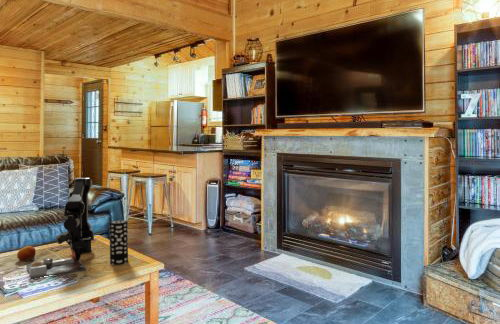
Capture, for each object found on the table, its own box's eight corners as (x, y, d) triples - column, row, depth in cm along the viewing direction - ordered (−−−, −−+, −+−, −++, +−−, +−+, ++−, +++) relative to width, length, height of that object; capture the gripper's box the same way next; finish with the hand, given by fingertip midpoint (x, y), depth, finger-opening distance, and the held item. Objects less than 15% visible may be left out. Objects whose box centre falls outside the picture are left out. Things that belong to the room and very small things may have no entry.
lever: (34, 269, 177) (34, 257, 176) (32, 267, 180) (32, 255, 179) (79, 261, 189) (79, 249, 189) (77, 259, 192) (77, 248, 192)
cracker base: (76, 258, 197) (76, 250, 197) (86, 270, 179) (85, 260, 179) (26, 266, 185) (26, 257, 185) (31, 279, 167) (30, 269, 167)
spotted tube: (131, 261, 193) (131, 221, 192) (119, 266, 186) (118, 224, 185) (118, 259, 197) (118, 219, 196) (106, 263, 189) (105, 222, 188)
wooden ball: (43, 269, 177) (42, 258, 177) (44, 272, 173) (44, 261, 172) (30, 271, 174) (30, 260, 174) (31, 275, 170) (31, 263, 170)
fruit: (31, 260, 190) (23, 245, 191) (19, 267, 192) (11, 253, 192) (42, 255, 198) (35, 241, 199) (31, 262, 200) (24, 248, 200)
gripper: (53, 224, 191) (54, 256, 192) (59, 231, 176) (60, 266, 176) (78, 222, 197) (78, 252, 198) (86, 228, 182) (86, 262, 183)
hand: (75, 258), depth 189 cm, fingers open, 9 cm apart
